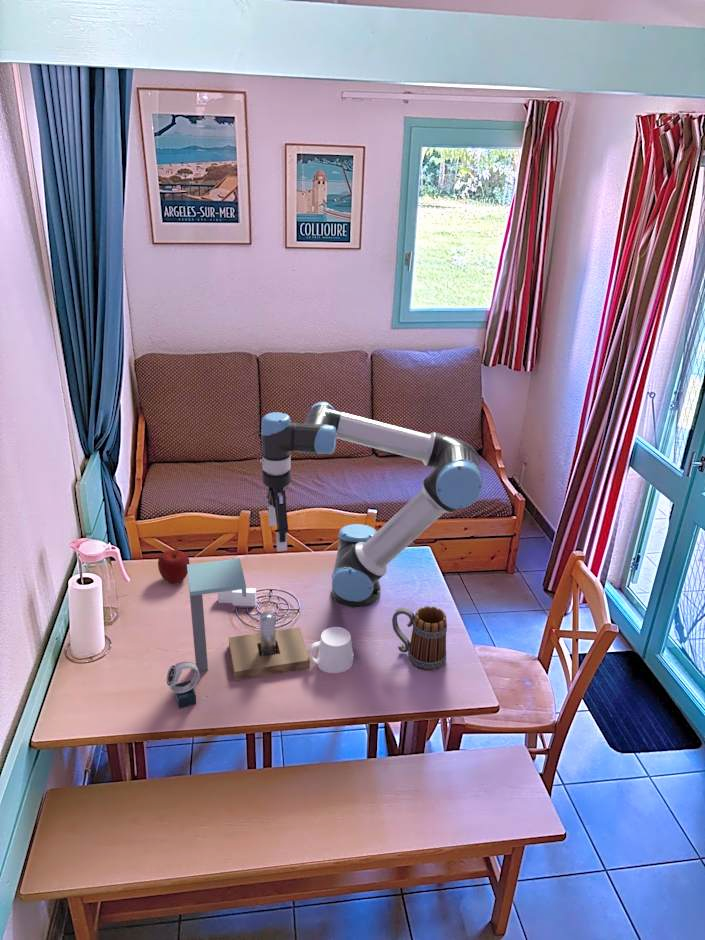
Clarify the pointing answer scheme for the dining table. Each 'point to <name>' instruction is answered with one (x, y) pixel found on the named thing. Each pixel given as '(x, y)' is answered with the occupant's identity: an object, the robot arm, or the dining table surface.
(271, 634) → the peg
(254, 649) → the socket board
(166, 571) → the apple
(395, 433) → the robot arm
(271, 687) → the dining table surface
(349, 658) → the mug
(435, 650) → the mug
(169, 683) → the watch
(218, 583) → the light blue l-shaped bracket
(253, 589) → the napkin holder
